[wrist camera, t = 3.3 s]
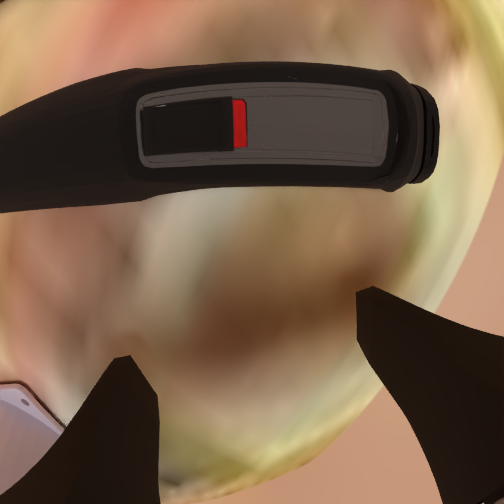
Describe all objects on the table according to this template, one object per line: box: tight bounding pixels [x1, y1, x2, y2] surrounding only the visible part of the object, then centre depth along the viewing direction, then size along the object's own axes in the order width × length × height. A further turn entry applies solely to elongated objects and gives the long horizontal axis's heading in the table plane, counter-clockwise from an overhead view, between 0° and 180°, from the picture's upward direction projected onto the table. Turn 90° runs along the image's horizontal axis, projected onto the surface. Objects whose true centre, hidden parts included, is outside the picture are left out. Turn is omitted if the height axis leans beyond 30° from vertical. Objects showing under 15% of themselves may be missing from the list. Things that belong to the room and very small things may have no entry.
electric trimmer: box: [0, 62, 440, 213], centre depth 6 cm, size 4×16×3 cm, turn 91°
